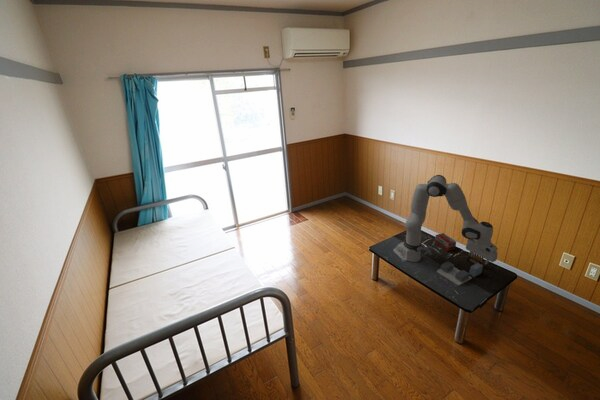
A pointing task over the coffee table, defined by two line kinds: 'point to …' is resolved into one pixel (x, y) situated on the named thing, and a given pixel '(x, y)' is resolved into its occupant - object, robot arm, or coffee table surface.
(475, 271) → the block
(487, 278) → the coffee table surface
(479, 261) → the ammunition clip
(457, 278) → the board
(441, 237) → the medicine box
